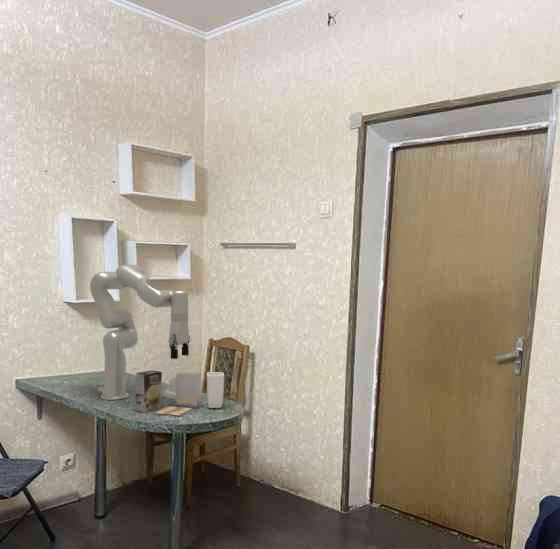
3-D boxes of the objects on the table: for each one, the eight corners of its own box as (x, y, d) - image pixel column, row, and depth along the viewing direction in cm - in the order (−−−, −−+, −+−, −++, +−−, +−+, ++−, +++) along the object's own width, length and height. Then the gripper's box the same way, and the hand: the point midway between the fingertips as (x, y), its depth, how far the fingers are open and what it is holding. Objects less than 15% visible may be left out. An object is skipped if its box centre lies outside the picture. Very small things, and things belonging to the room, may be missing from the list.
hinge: (162, 394, 236) (169, 374, 238) (170, 396, 239) (177, 376, 241) (180, 401, 223) (187, 380, 226) (188, 403, 226) (195, 382, 229)
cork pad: (153, 414, 202) (153, 412, 202) (166, 407, 213) (166, 405, 213) (179, 416, 199) (179, 415, 199) (191, 409, 209) (191, 408, 209)
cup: (206, 405, 217) (206, 372, 217) (222, 405, 218) (223, 372, 218) (206, 409, 210) (207, 375, 210) (223, 409, 211) (224, 375, 211)
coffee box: (144, 413, 204) (145, 374, 204) (134, 410, 207) (135, 372, 208) (161, 408, 211) (162, 371, 211) (151, 406, 215) (152, 369, 215)
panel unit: (172, 406, 214) (173, 374, 214) (178, 403, 220) (179, 371, 220) (197, 409, 211) (198, 375, 211) (203, 405, 216) (203, 373, 217)
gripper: (181, 317, 225) (181, 353, 224) (161, 319, 208) (162, 359, 208) (196, 317, 222) (196, 354, 222) (177, 320, 206) (177, 360, 206)
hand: (179, 356), depth 215 cm, fingers open, 9 cm apart
